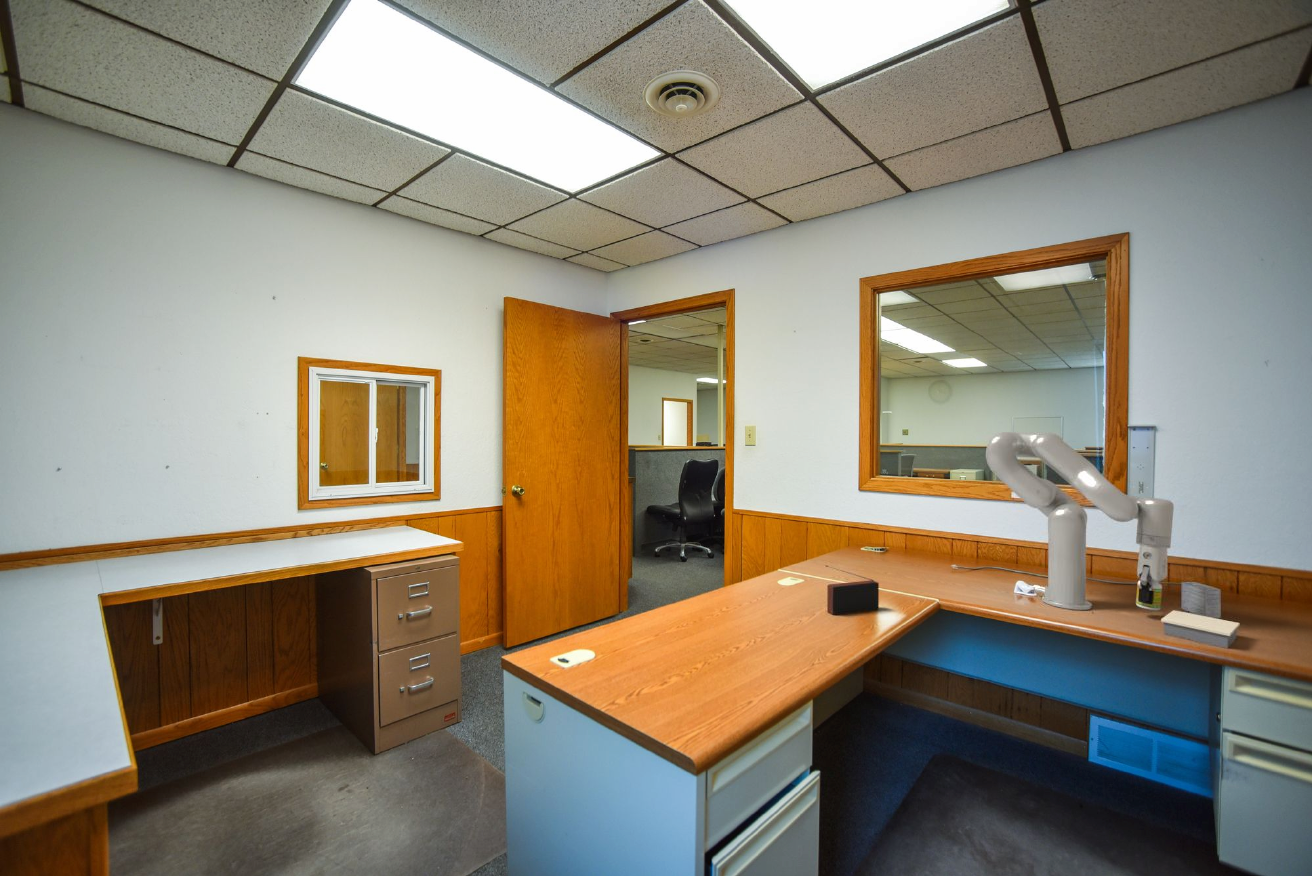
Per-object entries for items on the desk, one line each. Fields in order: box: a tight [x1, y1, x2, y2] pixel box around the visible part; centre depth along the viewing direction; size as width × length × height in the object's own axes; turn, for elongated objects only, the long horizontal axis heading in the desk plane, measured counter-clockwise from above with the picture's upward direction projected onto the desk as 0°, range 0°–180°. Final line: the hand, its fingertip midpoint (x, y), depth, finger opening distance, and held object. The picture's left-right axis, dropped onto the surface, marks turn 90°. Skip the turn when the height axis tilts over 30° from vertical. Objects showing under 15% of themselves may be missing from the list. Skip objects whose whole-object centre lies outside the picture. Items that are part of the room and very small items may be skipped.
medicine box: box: [1180, 581, 1222, 619], centre depth 164 cm, size 8×4×9 cm, turn 179°
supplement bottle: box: [1135, 577, 1163, 611], centre depth 161 cm, size 5×5×10 cm
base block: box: [1160, 609, 1241, 649], centre depth 147 cm, size 13×13×4 cm
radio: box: [825, 565, 880, 616], centre depth 167 cm, size 19×3×15 cm, turn 108°
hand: (1148, 600), depth 161 cm, fingers closed on supplement bottle, 5 cm apart
